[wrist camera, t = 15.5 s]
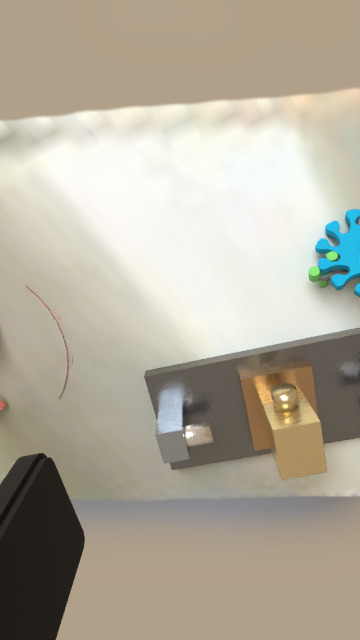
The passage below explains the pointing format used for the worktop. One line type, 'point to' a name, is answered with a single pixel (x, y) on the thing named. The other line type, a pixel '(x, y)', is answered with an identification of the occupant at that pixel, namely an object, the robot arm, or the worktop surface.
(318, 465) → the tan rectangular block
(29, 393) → the worktop surface
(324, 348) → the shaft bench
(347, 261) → the gear
